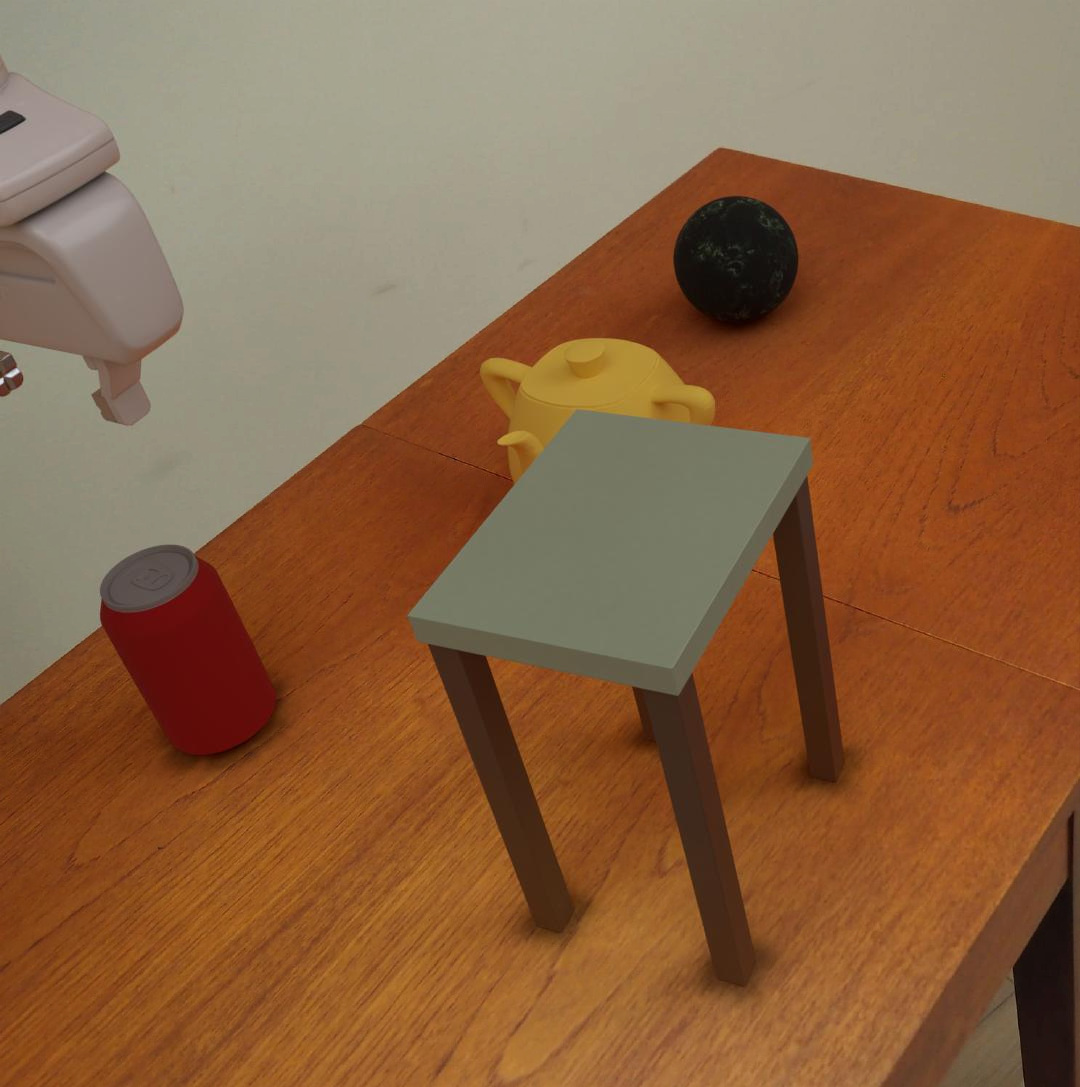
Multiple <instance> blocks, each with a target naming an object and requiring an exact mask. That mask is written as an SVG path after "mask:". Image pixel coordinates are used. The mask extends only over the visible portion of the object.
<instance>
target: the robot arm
mask: <svg viewBox="0 0 1080 1087" xmlns="http://www.w3.org/2000/svg"><path fill="white" fill-rule="evenodd" d="M120 152H121V151H120V148H119V146H118V143H117V141H116V138H115V137H114V134H113V132H112V130H111V129H110V127H109V126H108V125H107V123H106V122H105V121H104V120H103V119H102V118H100V117H99V116H98V115H95V114H94V113H91V112H89V111H88V110H85V109H83V108H81V107H79V106H76V105H74V104H71V103H69V102H67V101H66V100H63V99H61V98H59V97H57V96H55V95H53V94H51V93H50V92H48V91H46V90H44V89H43V88H41V87H39V86H38V85H36V84H35V83H33V82H32V81H31V80H29V79H27V77H26V76H24V75H22V74H20V73H17V72H14V71H9V69H8V67H7V65H6V63H5V61H4V60H3V57H2V55H1V54H0V340H2V341H7V342H12V343H17V344H22V345H27V346H32V347H38V348H43V349H47V350H53V351H58V352H63V353H67V354H73V355H78V356H82V358H83V360H84V362H85V363H86V366H87V368H89V369H90V370H91V371H97V373H98V381H99V388H98V389H96V390H95V391H94V392H93V393H92V394H90V396H91V397H92V400H93V402H94V403H95V405H96V407H97V408H98V409H99V410H100V415H101V417H102V418H103V420H105V421H107V422H110V423H115V424H117V425H124V426H127V427H129V426H131V427H132V426H134V425H135V424H136V423H138V422H139V421H140V420H142V419H143V418H144V417H146V416H147V415H148V414H149V413H150V411H151V406H152V405H151V400H150V399H149V397H148V395H147V393H146V391H145V389H144V386H143V384H142V382H141V381H140V380H141V374H142V359H144V358H145V357H147V356H148V355H150V354H151V353H153V352H155V351H156V350H157V349H158V348H160V347H161V346H162V345H164V344H165V343H167V342H168V341H169V340H170V339H172V338H173V337H174V336H175V335H177V334H178V333H179V331H180V330H181V328H182V323H183V318H184V314H185V313H184V310H185V309H184V302H183V298H182V295H181V293H180V290H179V288H178V285H177V282H176V280H175V278H174V275H173V273H172V270H171V268H170V265H169V263H168V261H167V258H166V256H165V254H164V252H163V249H162V247H161V245H160V243H159V240H158V238H157V236H156V234H155V232H154V230H153V227H152V225H151V223H150V221H149V219H148V218H147V215H146V213H145V211H144V209H143V208H142V206H141V204H140V202H139V201H138V200H137V198H136V197H135V194H134V193H133V192H131V190H130V189H129V188H128V187H127V185H126V184H124V182H122V181H121V180H120V179H119V178H118V177H117V176H115V175H113V174H112V173H110V172H107V171H108V170H109V169H111V168H112V167H114V166H115V165H116V164H117V163H119V162H120V159H121V153H120ZM24 381H25V380H24V375H23V373H22V371H21V370H20V368H18V364H17V362H16V360H15V358H14V356H13V354H12V353H11V352H7V351H4V350H0V398H4V397H7V396H8V395H10V394H11V392H12V391H14V390H15V391H16V390H18V388H20V387H21V386H22V385H23V383H24Z"/></svg>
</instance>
